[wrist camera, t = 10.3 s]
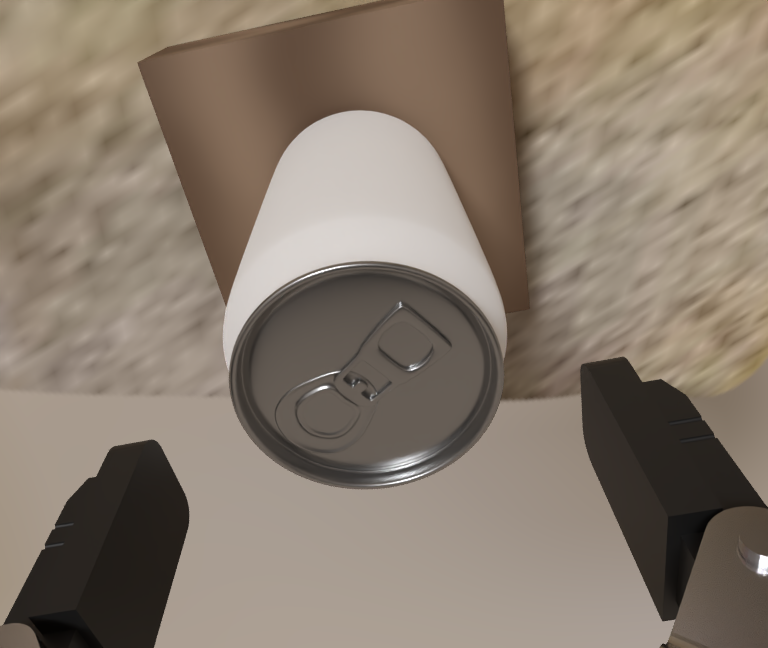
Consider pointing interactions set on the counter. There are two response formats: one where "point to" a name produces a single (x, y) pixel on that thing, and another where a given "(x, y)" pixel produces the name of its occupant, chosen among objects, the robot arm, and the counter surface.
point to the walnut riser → (340, 94)
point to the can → (364, 311)
